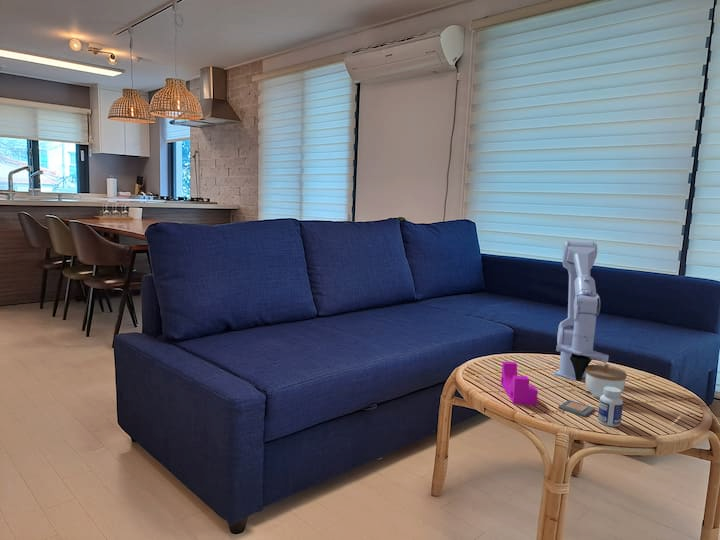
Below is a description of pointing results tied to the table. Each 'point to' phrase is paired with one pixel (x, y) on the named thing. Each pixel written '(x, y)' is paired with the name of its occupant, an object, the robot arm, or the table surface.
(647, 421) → the table surface
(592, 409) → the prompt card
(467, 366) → the table surface
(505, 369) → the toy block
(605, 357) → the robot arm
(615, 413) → the pill bottle
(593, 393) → the lidded jar
